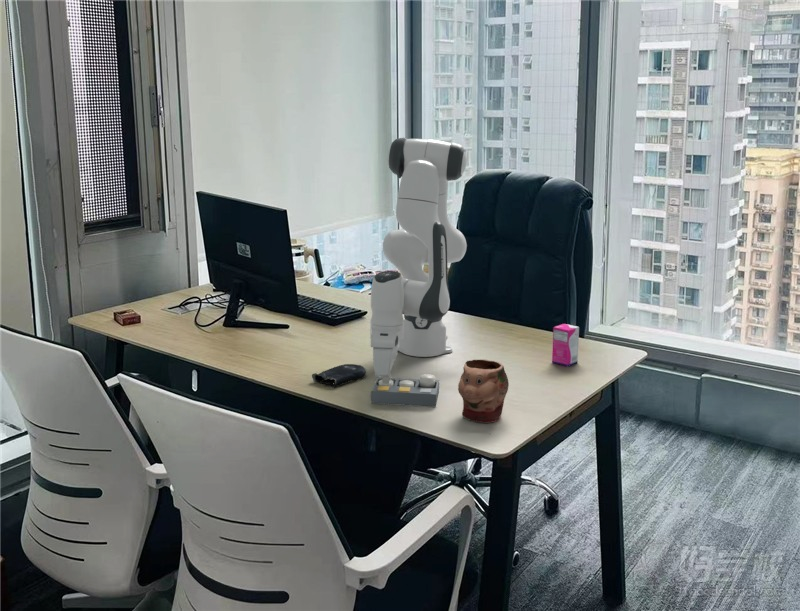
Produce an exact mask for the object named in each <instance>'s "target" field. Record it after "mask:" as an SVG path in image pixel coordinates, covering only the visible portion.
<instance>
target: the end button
mask: <svg viewBox="0 0 800 611" xmlns="http://www.w3.org/2000/svg"><path fill="white" fill-rule="evenodd" d="M379 385H384V386H393V381H392V380H390V381H389V383H388V384H384V383H383V382H382V380H380V381H379Z"/></svg>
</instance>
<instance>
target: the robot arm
mask: <svg viewBox="0 0 800 611" xmlns="http://www.w3.org/2000/svg"><path fill="white" fill-rule="evenodd" d="M467 162H468V159H467V154H466V149H465V148H464V146H463V145H461V144H459V143H456V142H454V141H453V142H448V141H443V140H438V139H432V138H429V139H428V138H427V139H426V138H407V137H399V138H395V139H394V140H393V141H392V142H391V144H390V147H389V149H388V152H387V163H388V168H389V170H390V171H391V172H392V173H393V175H396V176H397V178H398V179H400V183H399V188H398V192H397V200H396V206H395V217H396V220H397V222H398V225H399V226H400V227H401V228H400V229H395V230H390V231H389V232H387V234H386V235H385V237H384V238H383V241H382V253H383V255H384V256H385V258H386V259H387V261H388V262H389V263H391V264H392V265H393V266H395V267H396V268H397V270H398V271H396V270H385V271H381V272H378V273H376V274H375V275H374V276H373V279H372V283H371V288H370V289H371V290H370V309H371V317H370V322H369V323H370V329H369V330H370V333H369V334H370V337H369V338H370V347H371V348H372V357H373V358H372V359H373V371H374V374H375V377H382V382H383V383H384V384H388V383H389V381H390V378H391V374H392V369H393V367H394V363H395V360H396V359H397V356H398V352H400V353H402V354H404V355H407V356H411V357H419V358H420V357H422V358H423V357H424V358H427V357H437V356H440V355H443V354H451V353H452V352H453V348H452V346H451V344H450V341H449V339H448V335H447V326H446V324H445V323H444V322H443V317H445V315H446V314H447V313H448V312H449V309H450V306H451V295H450V288H449V280H448V279H449V278H448V277H449V274H448V271H449V270H448V264H452V263H453V264H454V263H456V262H460V261H461V260H462V259H463V258H464V257H465V255H466V252H467V247H468V244H467V240H466V237H465V235H464V234H463V232H461V231H460V230H459V229H457V228H456V227H455V226H454V225H453V223H452V222H451V221H450V218H449V215H448V209H447V208H448V206H447V202H448V188H449V187H448V186H449V185H448V184H449V182H450V181H457V180H459V179H460V178H462V176H463V174H464V172H465V170H466V168H467V165H468V164H467ZM423 265H427V266H428V267H427V268H428V269H427V270H428V272H425V271H424V270H423Z"/></svg>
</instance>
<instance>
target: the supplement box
mask: <svg viewBox="0 0 800 611" xmlns="http://www.w3.org/2000/svg"><path fill="white" fill-rule="evenodd" d="M579 335H580V327H579V326H577V325H572V324H568V323H567V324H566V323H562V324H559V325H555V326H554V327H552V350H551V351H552V353H551V354H552V358H551V363H552V362H553V363H552V364H556V363H557V364H556V365H559V364H561V365H560V366H563V365H564V366H563V367H566V366H568V367H570V366H572V364H573V365H575V364H574V363H576V362H578V359H579V358H578V357H579V340H580V339H579V338H580V336H579ZM578 363H579V362H578ZM576 364H577V363H576ZM569 365H570V366H569Z"/></svg>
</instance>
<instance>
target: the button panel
mask: <svg viewBox="0 0 800 611" xmlns="http://www.w3.org/2000/svg"><path fill="white" fill-rule="evenodd" d="M376 377H377V378H376V379H375V381H374V384H373V387H372V389H371V390H370V391H371V392H370V393H371V395H370V396H371V397H370V398H371V400H370V402H371V404H377V405H393V406H412V407H428V408H430V407H432V408H436V407H437V403H438V398H439V394H440V380H438V379H437V380H436V379H435V386H434V387H432V388H423V387H421V386H420V378H405V377H404V378H401V377H399V378H398V377H390V380H392V381H393V386H384V385H379V381H380V380H382V377H378V376H376ZM404 380H409V381H413V382H414V387H403V386H399V382H400V381H404Z"/></svg>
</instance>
